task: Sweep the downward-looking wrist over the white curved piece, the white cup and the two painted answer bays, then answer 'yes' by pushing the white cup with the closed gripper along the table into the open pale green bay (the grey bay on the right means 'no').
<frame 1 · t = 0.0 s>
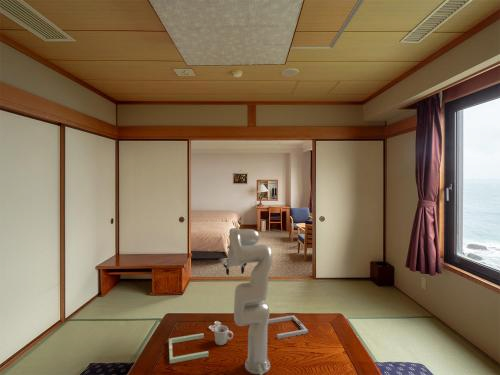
hand: (235, 273, 180), 31 cm above the table, fingers open, 9 cm apart
white curved piece: (214, 327, 175), on the table
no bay: (285, 328, 173), on the table
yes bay: (189, 348, 152), on the table
cup: (223, 343, 157), on the table
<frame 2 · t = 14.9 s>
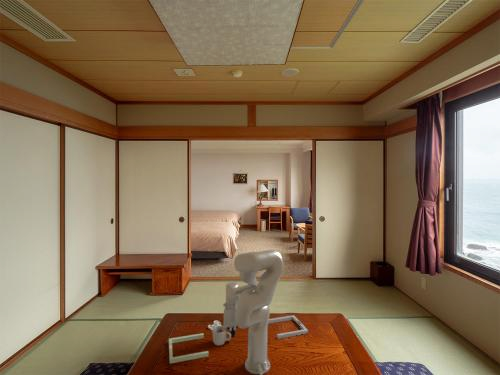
hand: (232, 336, 159), 3 cm above the table, fingers closed
white curved piece: (213, 326, 176), on the table
cup: (221, 343, 157), on the table, touching gripper
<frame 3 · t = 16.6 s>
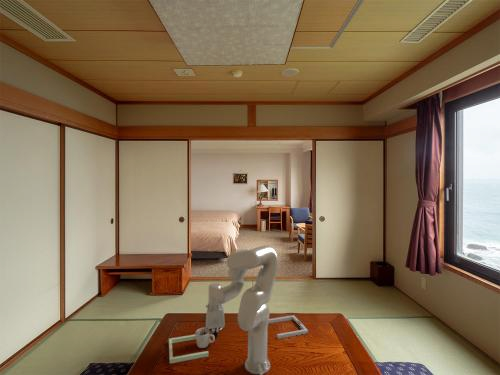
hand: (214, 338, 156), 3 cm above the table, fingers closed
cup: (205, 345, 154), on the table, touching gripper
everything else where it was.
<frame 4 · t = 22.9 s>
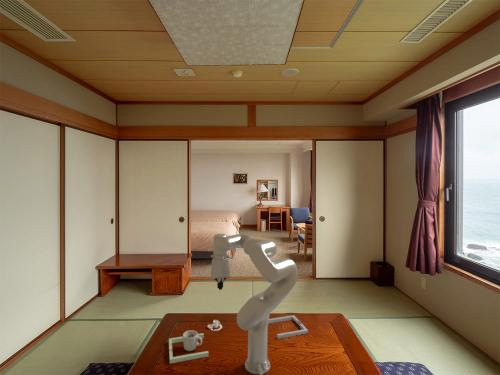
hand: (220, 288, 156), 31 cm above the table, fingers closed
cup: (192, 349, 152), on the table
everything else where it was.
at the end: cup inside the target area on the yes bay (1.8 cm from its centre), point 0.0 cm above the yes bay's base; cup tilted 0°; the gripper is holding nothing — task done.
